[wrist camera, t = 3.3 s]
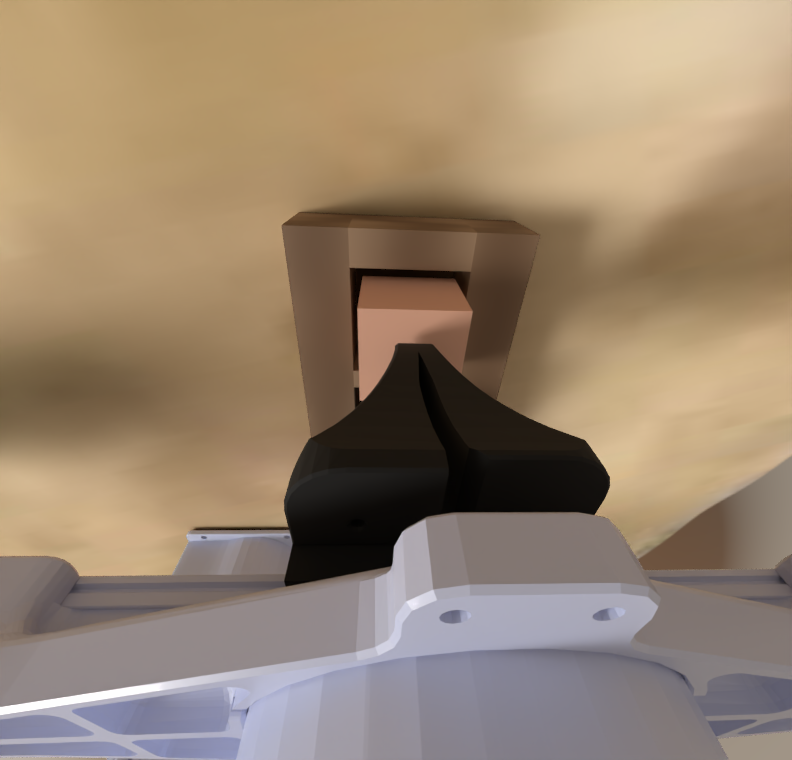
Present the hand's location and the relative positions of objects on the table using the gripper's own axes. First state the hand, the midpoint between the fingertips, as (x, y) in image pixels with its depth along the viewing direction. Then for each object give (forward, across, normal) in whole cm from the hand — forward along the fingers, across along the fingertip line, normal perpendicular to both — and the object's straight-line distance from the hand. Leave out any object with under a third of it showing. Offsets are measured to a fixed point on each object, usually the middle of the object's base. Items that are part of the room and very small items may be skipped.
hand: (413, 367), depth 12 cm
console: (+7, 0, +6) cm, 9 cm away
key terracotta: (+4, 0, 0) cm, 4 cm away
